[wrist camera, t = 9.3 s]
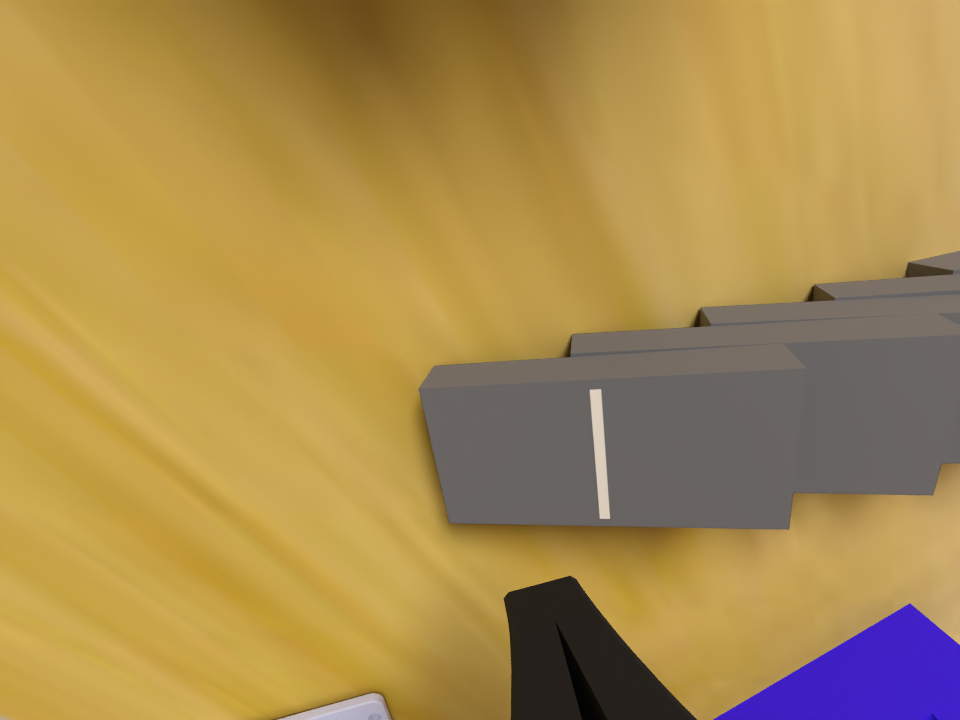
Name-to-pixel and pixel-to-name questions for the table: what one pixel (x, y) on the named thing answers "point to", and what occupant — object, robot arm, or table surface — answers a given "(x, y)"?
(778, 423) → the domino
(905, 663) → the bracket
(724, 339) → the domino
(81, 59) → the table surface
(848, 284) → the domino
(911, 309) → the domino
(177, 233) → the table surface
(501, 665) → the table surface
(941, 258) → the end domino
